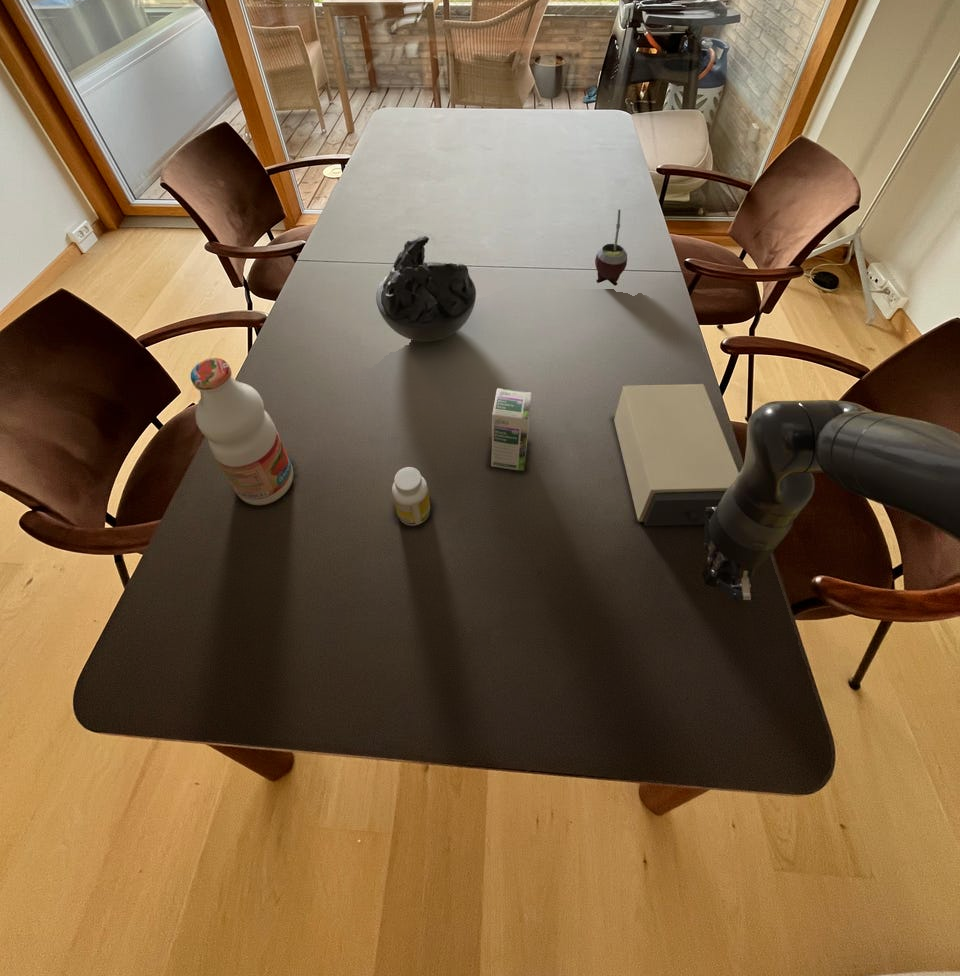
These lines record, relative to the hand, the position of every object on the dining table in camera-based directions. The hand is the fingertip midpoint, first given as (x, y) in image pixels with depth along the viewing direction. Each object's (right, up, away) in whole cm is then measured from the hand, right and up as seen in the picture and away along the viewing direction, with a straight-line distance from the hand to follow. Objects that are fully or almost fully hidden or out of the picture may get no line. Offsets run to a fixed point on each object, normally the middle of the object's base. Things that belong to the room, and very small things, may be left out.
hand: (710, 579), depth 79 cm
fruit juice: (-68, +10, +16) cm, 70 cm away
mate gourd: (-2, +48, +54) cm, 72 cm away
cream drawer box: (-1, +12, +18) cm, 21 cm away
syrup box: (-27, +13, +20) cm, 36 cm away
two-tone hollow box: (0, +11, +15) cm, 19 cm away
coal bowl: (-43, +36, +42) cm, 70 cm away
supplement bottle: (-43, +6, +12) cm, 45 cm away
